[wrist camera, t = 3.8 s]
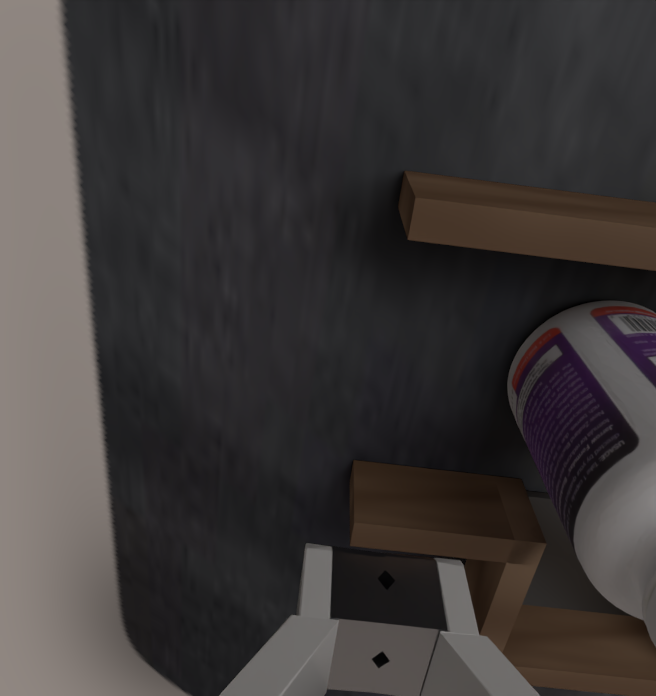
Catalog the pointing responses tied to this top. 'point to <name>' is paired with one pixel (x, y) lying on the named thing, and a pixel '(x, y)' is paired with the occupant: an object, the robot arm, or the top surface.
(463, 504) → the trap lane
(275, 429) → the top surface
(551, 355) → the pill bottle
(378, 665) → the robot arm
